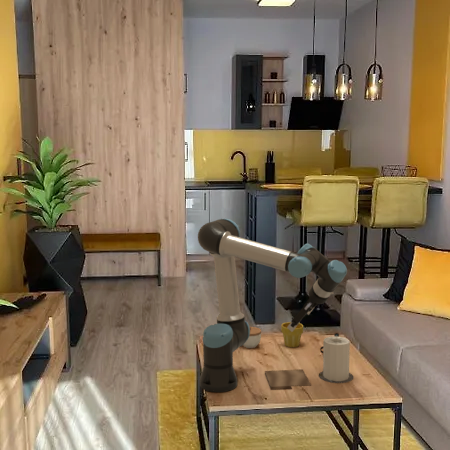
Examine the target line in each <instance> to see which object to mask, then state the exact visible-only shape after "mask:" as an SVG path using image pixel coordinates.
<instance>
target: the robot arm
mask: <svg viewBox="0 0 450 450" xmlns="http://www.w3.org/2000/svg"><path fill="white" fill-rule="evenodd" d="M197 233H198V234H197V242H198V244H199V246H200V247H201V248H202V249H203V250H204V251H206V252H209V255H210V256H212V257H213V262H214V271H215V280H216V290H217V292H216V293H217V301H218V309H219V315H217V317H216V323H214V324H211V325H208V326H207V327H205V329H204V330H203V334H202V335H203V336H202V351H203V352H202V353H203V354H202V355H203V356H202V357H203V359H202V360H203V367H202V371H201V374H200V376H199V387H200V388H201V389H202V390H204V391H207V392H211V393H225V392H230V391H232V390H234V389H236V388H237V386H238V376H237V374H236V370H235V367H234V365H233V364H234V362H233V361H234V359H233V357H234V352H235V351H237V350H238V349H239V348H240V347H243V344H244V343H245V342H246V341H247V340H248V338H249V335H250V327H251V326H250V324H249V323H248V321H246V319H245V317H246V316H245V314H244V313H242V312H241V305H240V296H239V287H238V277H237V276H238V275H237V268H236V267H237V266H236V258H238V259H240V260H241V259H242V260H245V261H248V262H253V263H254V264H255V263H256V264H259V265H263V266H265V267H270V268H273V269H276V270H280V271H284V272H288V273H289V274H290V275H291V276H292V277H294V278H297V279H301V278H304V277H306V276H309V274H311V273H313V274H314V275H315V276H317V279H316V280H315V282H314V284H313V285H312V286H311V287H310V289H309V290H308V296H309V297H308V299H307V300H306V302H305V303H304V304H303V306H302V308H301V309H300V310H299V311H298V312H297V314H296V315H295V316H294V317H291V321H290V322H291V323H290V324H289V326H288V327H287V328H288V329H289V330H290V331H291V332H293V330H294V329H295V328H296V327H297V325H298V324H299V323H300V322H301V321H302V320H303V319H304V318H305V316H306V315H308V316H309V315H310V314H311V312H313V310H314V309H315V307H316V306H320V305H322V304H324V303H326V301H327V300H328V299H329V298H330V297H331V295H334V294H335V293H334V291H335V290H336V289H337V287H338V286H339V285H340V284H341V283H342V281H343V280H344V279H345V277H346V275H347V274H348V269H347V266H346V264H345V263H344V262H343V261H340V260H337V259H333V260H329V258H327V257H326V256H325V255H324V254H322V253H321V252H320V251H319V250H318V249H316V247H315V246H314V245H313V246H312V244H310V243H305V244H303V246H302V247H301V248H300V249H299V250H298V251H297V252H293V251H291V250H287V249H283V248H279V247H276V246H272V245H269V244H266V243H261V242H257V241H254V240H250V239H248V238H244V237H241V231H240V227H239V226H238V224H237V223H236V222H235V221H234V220H232V219H230V218H219V219H216V220H213V221H210V222H207V223H204V224H203V225H202V226H201V227H200V229H199V230H198V232H197ZM300 324H301V323H300Z"/></svg>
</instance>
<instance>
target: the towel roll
mask: <svg viewBox="0 0 450 450" xmlns="http://www.w3.org/2000/svg"><path fill="white" fill-rule="evenodd" d="M322 344H323V345H322V346H323V349H322V351H323V353H322V355H323V356H322V357H323V358H322V359H323V360H322V361H323V364H322V367H323V368H322V371H323V376H324V378H326V379H328V380H332V381H344V380H347V379H348V378H349V373H350V348H351V347H350V346H351V345H350V344H351V341H350V340H349V339H348V338H346V337H344V336H339V337H337V336H327V337H325V338H324V339H323V343H322Z"/></svg>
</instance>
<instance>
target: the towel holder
mask: <svg viewBox="0 0 450 450" xmlns="http://www.w3.org/2000/svg"><path fill="white" fill-rule="evenodd" d="M318 378H319V379H321V380H322V381H324V382H327V383H333V384H344V383H350V382H351V381H352V380H354V375H353V374H352V373H351V372H349V378H348V379H347V380H344V381H332V380H328V379H326V378H324V376H323V370H322V371H320V372H319V373H318Z"/></svg>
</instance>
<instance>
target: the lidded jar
mask: <svg viewBox="0 0 450 450" xmlns="http://www.w3.org/2000/svg"><path fill="white" fill-rule="evenodd" d="M249 327H250V335H249V338H248V340H247V341H246V342H245V343H244V344H243V345H242V347H244V348H245V347H246V348H245V349H254V348H256V347H257V346H258V345H259V344H260V342H261V338H262V329H261V328H259V327H255V326H249Z"/></svg>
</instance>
